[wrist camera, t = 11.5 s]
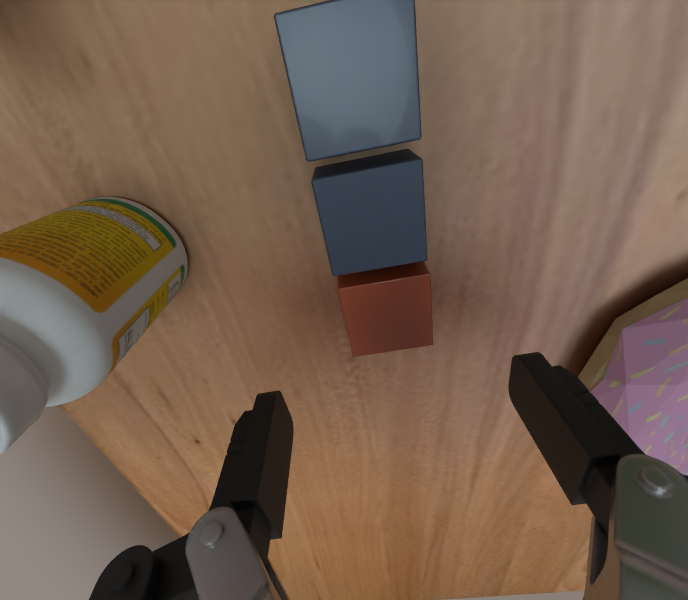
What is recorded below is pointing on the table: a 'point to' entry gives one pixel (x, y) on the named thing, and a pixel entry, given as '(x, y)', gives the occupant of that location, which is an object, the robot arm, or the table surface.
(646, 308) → the donut
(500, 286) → the table surface
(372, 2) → the tile
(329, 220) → the tile
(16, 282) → the supplement bottle
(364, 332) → the tile
